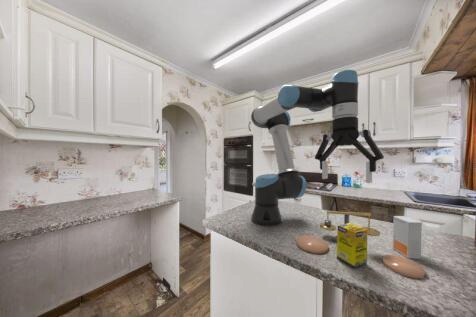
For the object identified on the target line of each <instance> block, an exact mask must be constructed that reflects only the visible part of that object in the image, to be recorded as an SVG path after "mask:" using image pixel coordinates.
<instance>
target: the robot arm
mask: <svg viewBox="0 0 476 317" xmlns="http://www.w3.org/2000/svg"><path fill="white" fill-rule="evenodd" d="M358 77H359V76H358V71H357V70H355V69H344V70H340V71H338V72H336V73H335V74H333V76H332V77H331V83H330V84H329V85H328V86H326V87H324V88H315V87H308V86H307V87H306V86H300V85H294V84H284V85H282V86H281V88H280V89H279V90H278V94H277V96H276V97H274V98H273V99H271V100H270V101H268V102H267V103H265V104H264V105H262V106H261V105H259V106H257V107H256V108H254V109H253V110H252V112H251V115H250V119H251V122H252V124H253V125H255V126H256V127H257V128H259V129H267V130H268V133H269V134H270V135H271V137H272V142H273V146H274V152H275V157H276V163H277V168H278V173H265V174H261V175H258V176H256V178H255V183H254V199H255V200H254V208H253V211H252V214H251V221H252V222H253V224H255V225H259V226H261V227H275V226H278V225H281V224H282V222H283V219H282V215H281V211H280V207H279V200H288V199H290V200H291V199H292V200H293V199H300V198H302V197H303V196H305V193H306V191H307V186H308V185H307V180H306V179H305V176H302V175H300V172H299V170H297V169H296V168H295V164H294V160H293V154H292V150H291V146H290V142H289V141H290V140H289V138H288V133H287V131H288V130H289V127H290V126H291V115H290V114H289V112H288V111H291V110H293V109H295V108H299V109H308V110H309V111H311V112H313V113H317V112H318V113H319V112H321V111H324V110H326V109H329V108H332V109H331V110H332V111H331V114H332V115H331V116H332V118H331V119H332V121H331V122H332V124H331V128H332V129H331V130H332V132H331V134H326V133H325V134H323V135H322V141H321V143H320V144H319V147H318V149H317V151H316V154H315V156H314V159H315V160H317V161H319V169H320V170H321V171H322V172H321V179H322V180H326V179H328V178H329V173H328V172H329V168H328V167H329V165H328V164H329V163H328V162H329V161H328V158H329V157H330V155H331V154H332V153H333V152H334V151H335V150H336V149H337V148H338V147H340V146H341V147H344V146H354V147H355V148H356V150H358V151H359V152H360V153H361V155H363V156H365V158H366V159H367V160H368V161H365V171H366V172H365V174H366V175H365V183H366V184H371V183H373V173H375V172H376V170H377V161H379V160H380V161H381V160H383V159H384V158H385V157H384V155H383V153H382V152H381V150H380V148H379V147H378V145H377V144H376V142H375V141H374V139H373V138H372V134H371V131H370V130H369V129H364V130H361V131H359V117H358V115H359V101H358V98H359V80H358V79H359V78H358ZM360 136H361V137H362V138H363V139H364V141H365V142H366V144H367V145H368V147H369V148H370V150H371V151H372V153H373V154H372V153H371V152H369V150H368V149H367V148H366V147H365V146H364V145H363V144H362V143H361V142H360V141H359V140H358V138H359V137H360ZM331 140H332V141H331ZM330 141H331V143H330V145H329V142H330ZM328 145H329V147H328V148H327V146H328Z"/></svg>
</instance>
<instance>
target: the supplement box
mask: <svg viewBox="0 0 476 317" xmlns="http://www.w3.org/2000/svg"><path fill="white" fill-rule="evenodd" d="M362 227H363V226H360V225H357V224H354V223H351V222H349V223H347V224H344V223H343V224H338V225H337V230H336V231H337V233H336V234H337V235H336V236H337V243H336V258H337V259H338V260H339V261H341V262H342V263H344V264H345V265H347V266H349V267H351V268H352V269H357V268H359V267H362V266H365V265H367V263H368V262H367V261H368V235H367V231H368V230H367V229H365V228H362Z"/></svg>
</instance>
